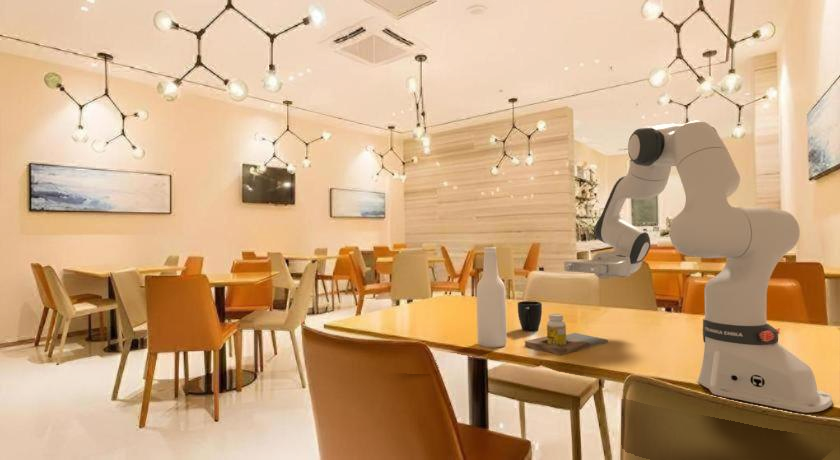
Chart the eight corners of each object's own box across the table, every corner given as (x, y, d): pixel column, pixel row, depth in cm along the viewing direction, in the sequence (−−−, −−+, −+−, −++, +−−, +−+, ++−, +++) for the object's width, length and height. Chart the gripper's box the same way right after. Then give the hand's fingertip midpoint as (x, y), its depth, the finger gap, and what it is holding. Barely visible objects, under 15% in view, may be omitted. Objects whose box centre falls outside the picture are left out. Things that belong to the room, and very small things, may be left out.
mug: (513, 333, 154) (512, 305, 154) (520, 326, 165) (520, 300, 165) (538, 335, 150) (537, 306, 150) (544, 328, 161) (543, 301, 161)
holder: (589, 347, 134) (589, 342, 134) (560, 355, 126) (560, 349, 126) (553, 339, 144) (553, 334, 144) (525, 346, 137) (525, 341, 137)
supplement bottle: (569, 348, 133) (569, 315, 134) (554, 350, 132) (553, 317, 132) (559, 344, 139) (558, 312, 139) (543, 345, 137) (543, 313, 137)
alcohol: (476, 347, 136) (474, 248, 137) (479, 340, 145) (477, 246, 145) (505, 348, 134) (503, 247, 134) (507, 341, 143) (505, 246, 143)
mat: (607, 342, 140) (607, 339, 140) (589, 346, 134) (589, 344, 134) (575, 335, 149) (574, 332, 149) (557, 339, 144) (556, 336, 144)
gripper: (578, 254, 158) (552, 257, 150) (634, 256, 142) (608, 260, 134) (579, 272, 158) (553, 276, 151) (635, 276, 142) (609, 281, 134)
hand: (579, 268), depth 142 cm, fingers open, 8 cm apart
